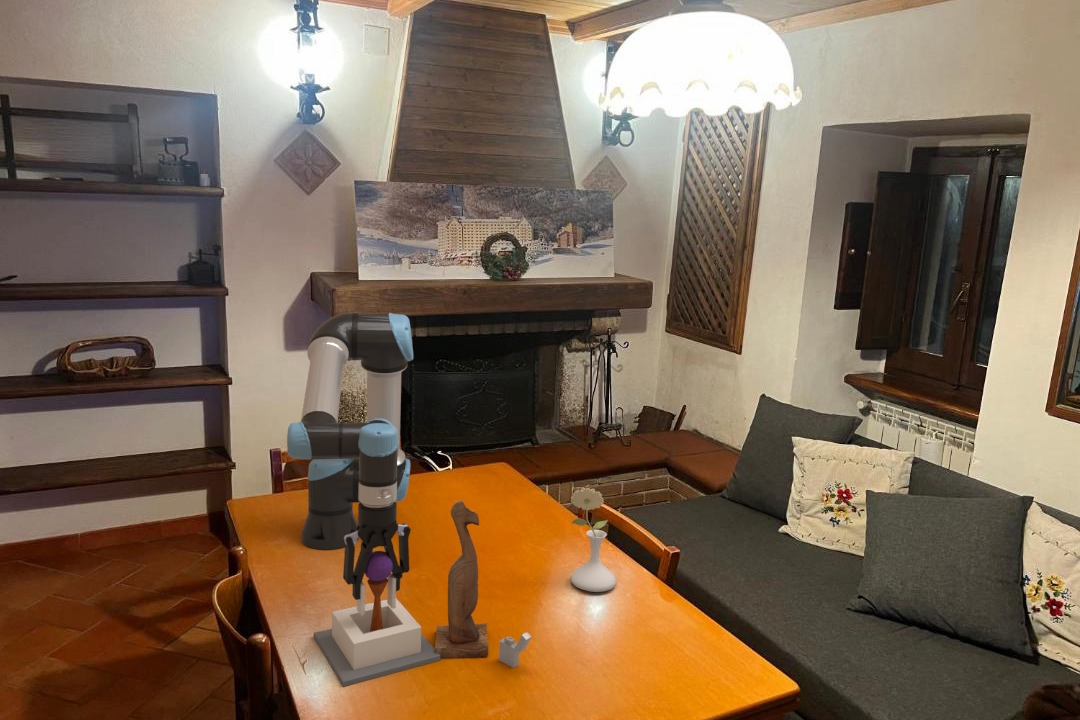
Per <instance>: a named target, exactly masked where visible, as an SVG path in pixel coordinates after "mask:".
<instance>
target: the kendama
mask: <svg viewBox="0 0 1080 720" xmlns="http://www.w3.org/2000/svg"><path fill="white" fill-rule="evenodd" d="M392 569H393V563H392V561H391V559H390V557H389V556H388V554H387V553H386V552H385V550H375V551H374V550H373V551H372V553H371V554H370V557H369V560H368V563H367V567H366V570H365V573H364V575H365V577H367V578H368V579H367V581H366V582H367V585H368V586H369V588H370V592H372V593H371V594H372V595H373V597H374V600H373V603H374V606H373V613H372V620H371V627H370V632H373V631H377V630H381V629H383V622H382V611H381V601H382V600H381V596H382V594H383V592H384V590H385V588H386V587H387V586H388V576H390V574H392Z"/></svg>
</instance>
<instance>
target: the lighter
mask: <svg viewBox="0 0 1080 720" xmlns="http://www.w3.org/2000/svg"><path fill="white" fill-rule="evenodd" d="M531 639H532V636H531V634H530V633H529V632H524V633H523V634H521V635H520V638H519V640H518V641H517V643H516V641H515V640H516V639H514V638H513V637H511V636H505V637H504V638H502V639H500V640H499V649H498V661H499V662H501V663H502V664H505V665H507V666H509V667H510V668H513V669H514V668H516V667H518V666H519V665H520V664H519V660H520V653H522V652H524V651H526V648H527V646H528V644H529V642H530V641H531Z"/></svg>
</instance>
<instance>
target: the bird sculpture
mask: <svg viewBox="0 0 1080 720" xmlns="http://www.w3.org/2000/svg"><path fill="white" fill-rule="evenodd" d="M450 516H451V518H452V521H453V522H454V526H455V529H456V533H457V535H458V538H459V539H458V540H459V543H460V546H461V553H462V554H461V555H460V556H459V557H457V558H456V559H455V561H454V562H453V564H452V565H451V566H450V569H449V572H448V576H447V577H448V578H447V621H448V622H447V623H448V625H436V631H435V633H436V634H435V643H434V649H435V654H439V655H440V660H445V659H446V660H449V659H452V660H453V659H475V658H477V659H479V658H481V659H482V658H486V659H487V658H488V656H489V642H488V632H487V631H488V623H486V622H485V623H475V621H474V618H473V616H472V614H473V613H474V612H475V610H476V608H477V604H478V599H479V583H478V582H479V566H478V565H479V564H478V556H477V552H476V547H475V545H474V541H473V539H472V536H471V535H470V534H471V533H470V531H469V529H468V525H475V526H480V520H479V515H478V513H477V512H475V511H474V510H471V509H469V508H468V507H467V506H466V504H465V502H464V501H463V500H458V501H456V502H454V504H453V505H452V506H451V509H450Z"/></svg>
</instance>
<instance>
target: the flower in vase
mask: <svg viewBox="0 0 1080 720" xmlns="http://www.w3.org/2000/svg"><path fill="white" fill-rule="evenodd" d="M602 496H603V494H602V493H601V492H600V491H596V490H595V488H589V487H586V488H585V487H581V489H577V490H576V491H574V492H573V494H572V496H570V500H571V503H573V505H574V507H577V508H579V509H582V510H584V511H585V512H586V513H585V514H586V515H585V517H586V518H585V519H586V520H585V519H582V518H580V517H579V518H575V519H572V521H571V522H570V524H575V525H578V526H581V527H584V526H585V525H587V524H588V526H589V528H590V530H587V531H586V532H585V533H586V535H587V537H588V539H589V544H590V557H589V560H588V561H587V562H586V563H584V564H583V565H581V566H579V567H577V568H576V569H575V570H573V572H572V573H571V575H570V581H571V583H572V584H573V586H575V587H577V588H578V589H580V590H583V591H586V592H593V593H594V592H595V593H598V592H599V593H600V592H607V591H609V590H611V589H613V588H614V587H615V586H616V585H617V579H616V578H617V577H616V575H615V574H614V573H613V572H612V571H611V570H610V569H609V568H607V567H606V566H605V565H604V564H603V563H602V561H601V559H600V557H601V555H600V554H601V547H602V544H603V540H604V539H605V538H606V537H607V535H608V534H607V532H605V531H603V530H600V529H602V528H603V527H605V526H606V524H607V523H608V520H609V519H606V520H601V521H597V522H596V523H595V524H594V525H593V527H592V525H591V523H590V522H589V520H588V519H589V518H588V514H589V513H588V511H590V510H595V509H600V508H601V506H602V505H603V504H604V502H605V501H604V498H603V497H602Z"/></svg>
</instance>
